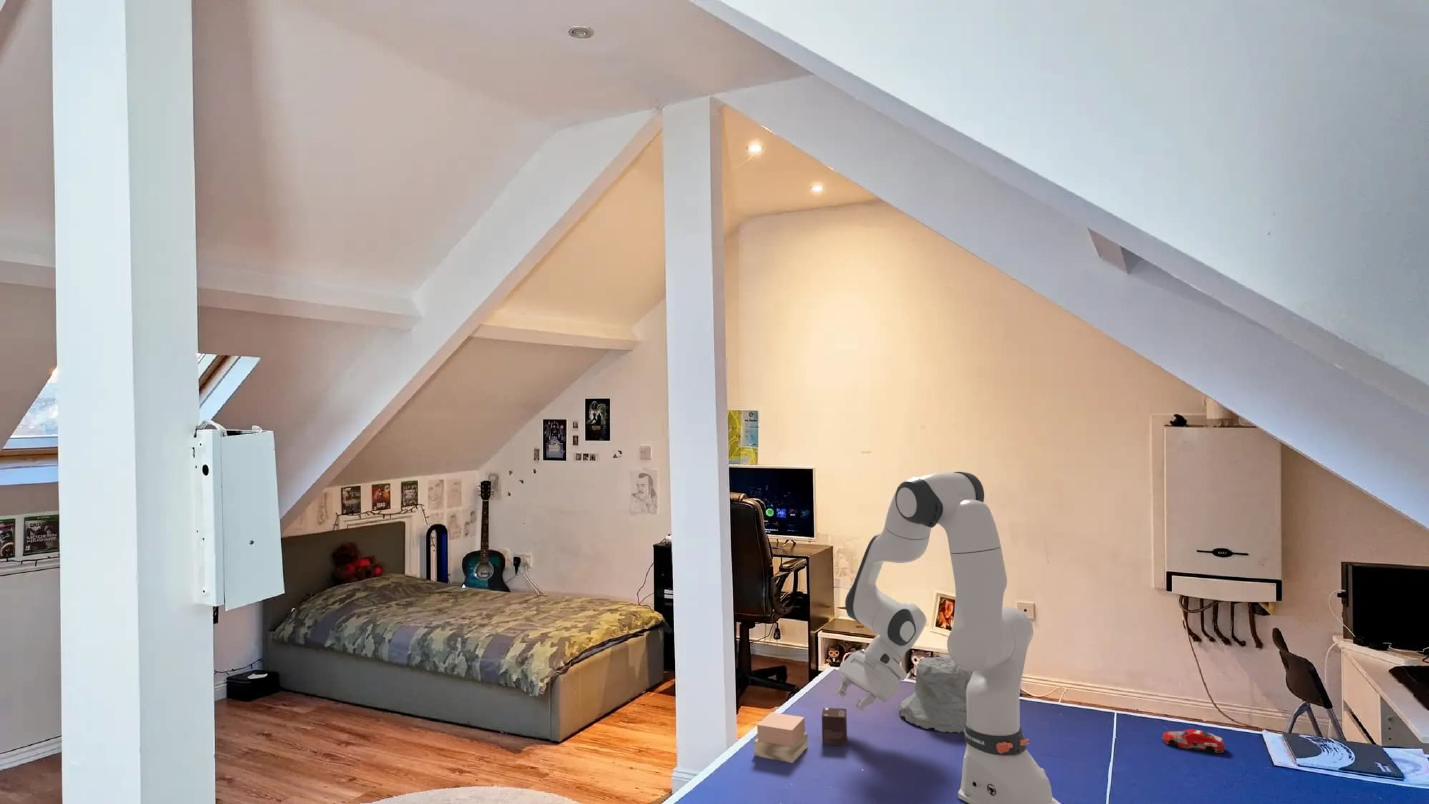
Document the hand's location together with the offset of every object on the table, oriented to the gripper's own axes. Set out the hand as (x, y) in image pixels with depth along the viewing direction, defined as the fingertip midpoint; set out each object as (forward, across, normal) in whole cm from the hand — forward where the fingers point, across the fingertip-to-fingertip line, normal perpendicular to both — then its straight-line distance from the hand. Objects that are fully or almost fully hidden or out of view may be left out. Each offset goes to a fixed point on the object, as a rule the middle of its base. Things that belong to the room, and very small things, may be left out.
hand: (849, 701), depth 214 cm
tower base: (+21, 0, -7) cm, 22 cm away
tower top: (+18, +1, -10) cm, 20 cm away
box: (+10, 0, +3) cm, 10 cm away
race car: (-45, +40, +58) cm, 83 cm away
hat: (-15, -1, +29) cm, 32 cm away
